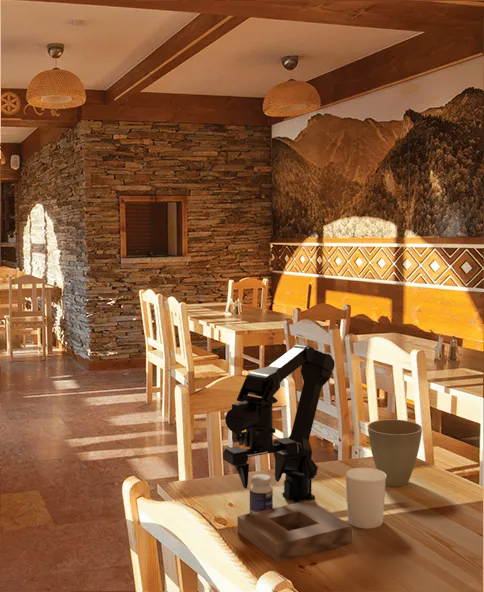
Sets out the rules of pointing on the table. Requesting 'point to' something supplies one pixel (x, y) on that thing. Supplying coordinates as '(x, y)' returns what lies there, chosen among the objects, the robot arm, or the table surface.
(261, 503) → the pill bottle
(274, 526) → the well block
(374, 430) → the plant pot
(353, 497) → the candle holder
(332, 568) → the table surface
